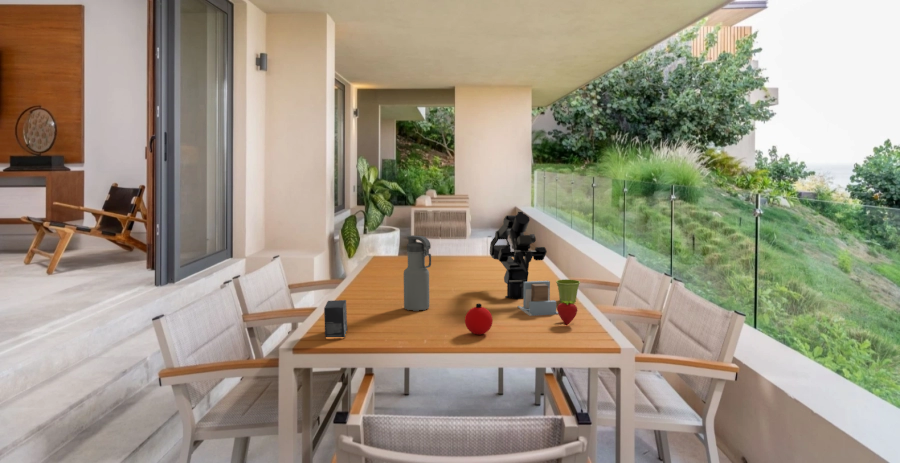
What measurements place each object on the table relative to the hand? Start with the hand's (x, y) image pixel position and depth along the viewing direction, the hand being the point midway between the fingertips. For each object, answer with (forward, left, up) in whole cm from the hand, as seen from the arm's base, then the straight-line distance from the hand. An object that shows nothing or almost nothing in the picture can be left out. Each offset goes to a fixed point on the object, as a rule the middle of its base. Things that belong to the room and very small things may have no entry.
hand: (527, 271), depth 240 cm
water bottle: (-30, -31, -14) cm, 45 cm away
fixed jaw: (+14, -12, -14) cm, 22 cm away
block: (+11, -9, -13) cm, 19 cm away
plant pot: (+11, +13, -14) cm, 22 cm away
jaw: (+9, -7, -12) cm, 17 cm away
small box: (-26, -75, -14) cm, 80 cm away
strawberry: (+27, -18, -14) cm, 35 cm away
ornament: (+10, -46, -14) cm, 49 cm away
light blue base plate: (+10, -8, -14) cm, 19 cm away
